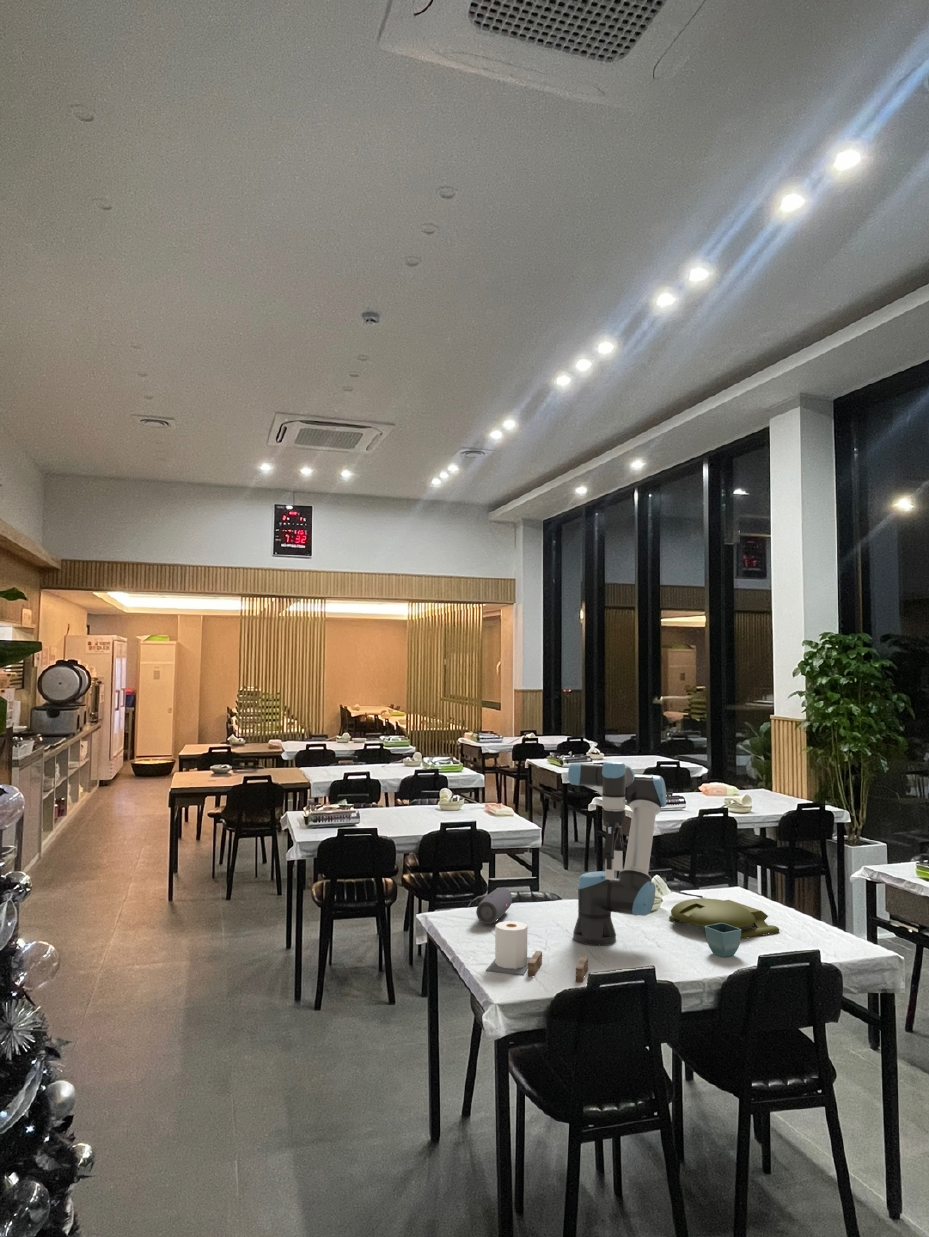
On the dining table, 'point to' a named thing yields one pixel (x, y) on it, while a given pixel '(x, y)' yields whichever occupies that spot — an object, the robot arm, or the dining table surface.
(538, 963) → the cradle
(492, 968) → the mat
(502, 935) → the toilet paper
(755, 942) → the dining table surface
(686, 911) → the spaceship
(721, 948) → the flower pot
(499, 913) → the bluetooth speaker
